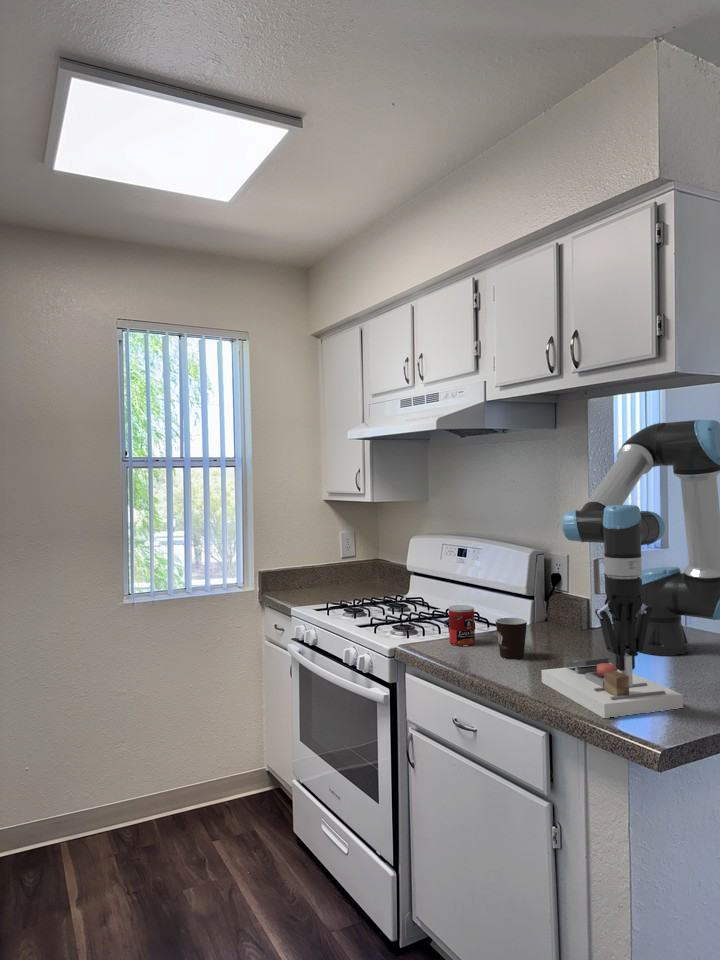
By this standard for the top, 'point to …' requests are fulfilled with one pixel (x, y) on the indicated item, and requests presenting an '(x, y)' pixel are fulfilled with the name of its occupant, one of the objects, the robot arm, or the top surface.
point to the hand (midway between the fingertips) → (625, 684)
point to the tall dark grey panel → (586, 663)
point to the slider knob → (616, 683)
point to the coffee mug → (511, 637)
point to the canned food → (461, 625)
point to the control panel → (592, 694)
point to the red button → (605, 668)
